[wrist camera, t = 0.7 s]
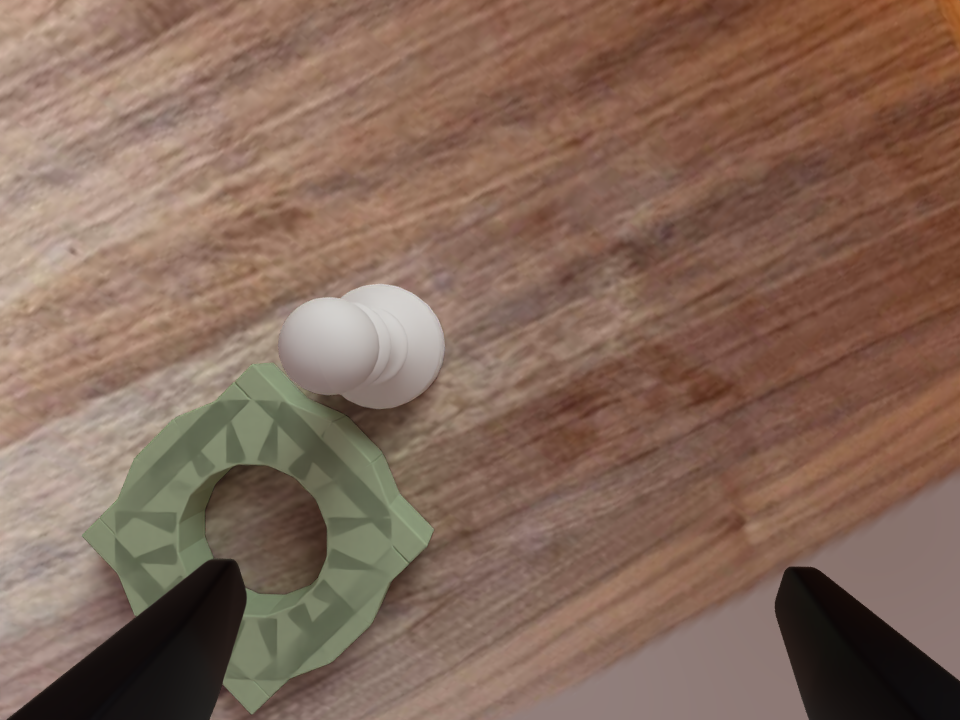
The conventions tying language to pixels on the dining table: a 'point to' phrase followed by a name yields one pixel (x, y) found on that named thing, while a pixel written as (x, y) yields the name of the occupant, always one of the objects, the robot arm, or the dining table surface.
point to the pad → (319, 469)
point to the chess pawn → (364, 346)
